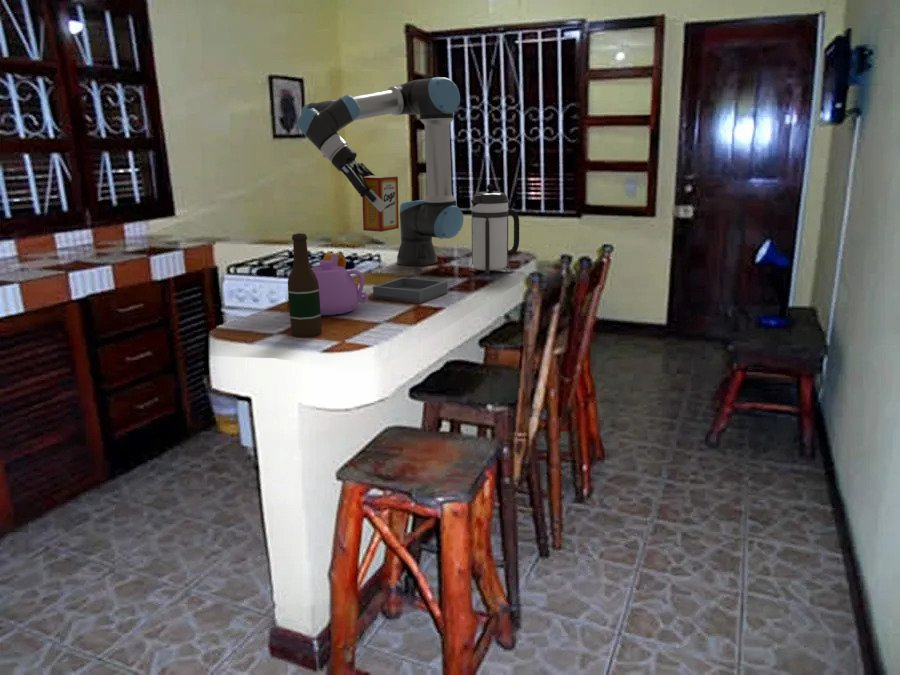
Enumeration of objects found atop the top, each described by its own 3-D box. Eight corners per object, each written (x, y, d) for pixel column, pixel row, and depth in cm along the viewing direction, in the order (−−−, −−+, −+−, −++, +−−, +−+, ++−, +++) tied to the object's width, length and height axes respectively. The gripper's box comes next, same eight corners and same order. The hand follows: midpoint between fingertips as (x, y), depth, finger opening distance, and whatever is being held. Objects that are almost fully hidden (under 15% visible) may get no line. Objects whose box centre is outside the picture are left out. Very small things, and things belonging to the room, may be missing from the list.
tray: (403, 288, 219) (402, 277, 218) (447, 292, 211) (447, 281, 210) (373, 298, 205) (372, 286, 204) (419, 303, 198) (419, 291, 197)
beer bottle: (285, 337, 166) (276, 236, 159) (297, 328, 173) (289, 231, 166) (316, 338, 164) (309, 236, 158) (327, 329, 172) (320, 231, 165)
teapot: (375, 300, 203) (372, 252, 199) (364, 318, 182) (362, 266, 178) (300, 300, 204) (296, 253, 200) (281, 319, 183) (276, 267, 179)
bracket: (338, 297, 207) (336, 257, 204) (319, 295, 211) (316, 256, 207) (359, 290, 216) (357, 252, 213) (340, 288, 220) (338, 250, 216)
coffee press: (509, 276, 234) (510, 185, 226) (463, 275, 238) (462, 185, 230) (519, 267, 250) (520, 182, 242) (475, 266, 254) (475, 182, 246)
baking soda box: (381, 227, 219) (379, 174, 214) (398, 228, 216) (397, 175, 211) (363, 230, 211) (361, 176, 206) (381, 231, 208) (379, 176, 203)
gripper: (346, 161, 222) (393, 211, 223) (315, 163, 200) (368, 219, 201) (361, 144, 219) (409, 195, 220) (331, 144, 198) (385, 201, 198)
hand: (389, 207), depth 211 cm, fingers closed on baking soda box, 11 cm apart
